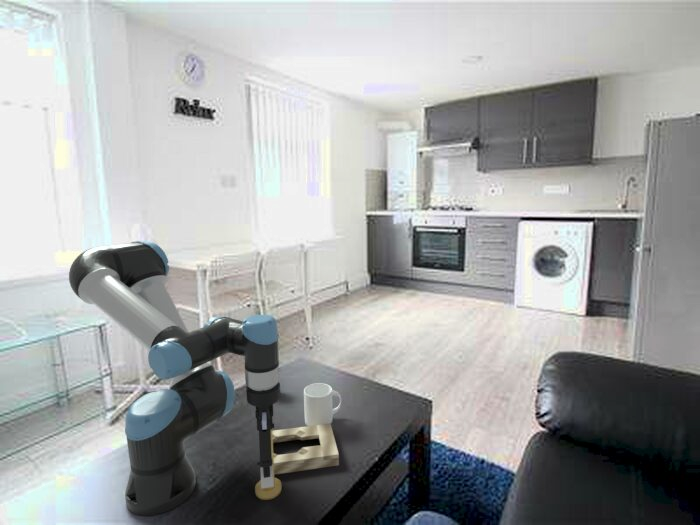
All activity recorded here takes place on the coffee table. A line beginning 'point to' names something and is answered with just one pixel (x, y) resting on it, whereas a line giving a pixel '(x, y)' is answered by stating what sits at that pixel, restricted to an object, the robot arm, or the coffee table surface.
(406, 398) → the coffee table surface
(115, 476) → the coffee table surface
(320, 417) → the mug
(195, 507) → the coffee table surface
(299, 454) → the keyhole board
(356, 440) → the coffee table surface
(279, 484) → the headed peg
